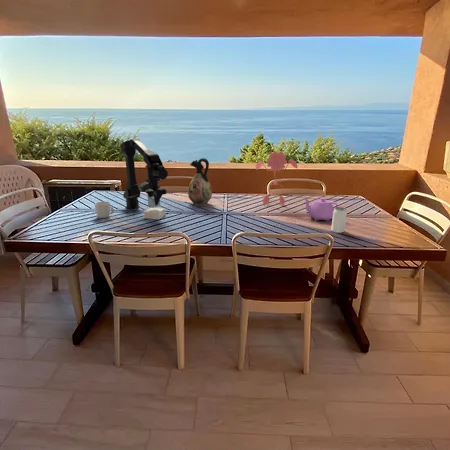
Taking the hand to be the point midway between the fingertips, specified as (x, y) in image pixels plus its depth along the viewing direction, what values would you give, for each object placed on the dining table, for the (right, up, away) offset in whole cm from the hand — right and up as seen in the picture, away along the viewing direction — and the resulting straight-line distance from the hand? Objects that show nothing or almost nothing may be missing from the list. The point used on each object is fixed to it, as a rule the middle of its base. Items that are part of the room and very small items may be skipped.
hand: (154, 204), depth 195 cm
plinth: (0, -7, +2) cm, 7 cm away
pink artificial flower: (+72, 0, +27) cm, 77 cm away
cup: (-27, -8, -1) cm, 28 cm away
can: (+98, -15, -17) cm, 100 cm away
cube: (0, -1, 0) cm, 1 cm away
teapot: (+94, -8, +4) cm, 94 cm away
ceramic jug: (+25, +1, +29) cm, 38 cm away
